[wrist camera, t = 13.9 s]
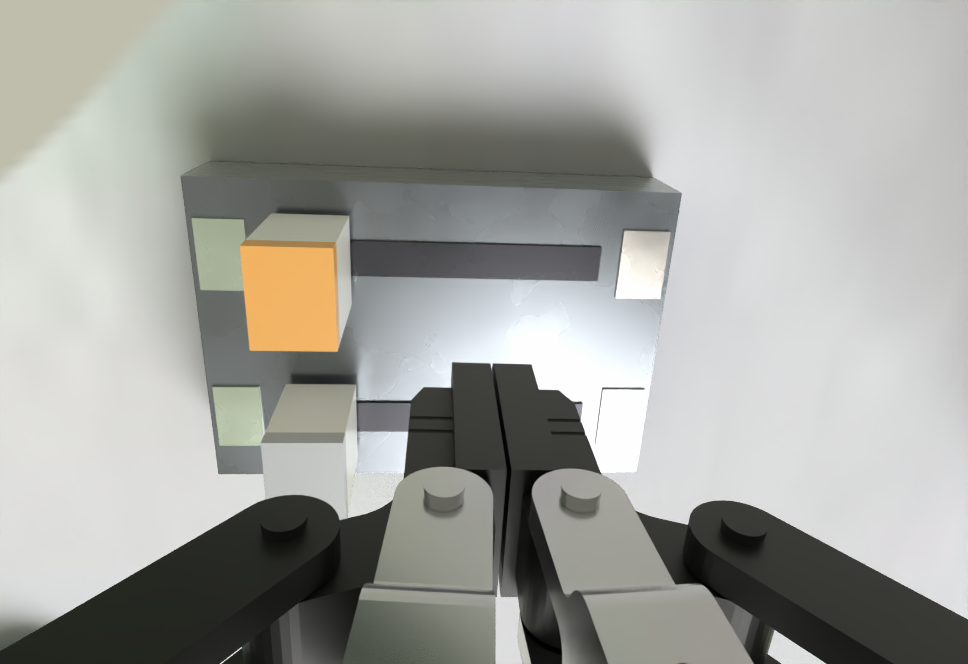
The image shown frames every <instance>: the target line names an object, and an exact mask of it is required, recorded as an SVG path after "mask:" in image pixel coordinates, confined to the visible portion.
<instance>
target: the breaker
mask: <svg viewBox="0 0 968 664" xmlns="http://www.w3.org/2000/svg"><path fill="white" fill-rule="evenodd" d="M261 454H262V464H263V475H264V485H265V496H266V499H269V498H273V497H277V496H283V495H305V496H311V497H315V498H318V499H321V500H323V501H325V502H327V503H328V504H329V505H331V506H332V507H333V508H334V509H335V510H336V512H337V514H338V516H339V520H342V519H347V517H348V511H349V505H350V499H351V494H352V488H353V482H354V476H355V471H356V465H357V459H358V444H357V410H356V385H350V384H286V385H285V387H284V390H283V392H282V394H281V397H280V399H279V401H278V404H277V406H276V408H275V411H274V413H273V415H272V418H271V420H270V422H269V425H268V427H267V429H266V432H265V434H264V436H263V439H262V441H261Z"/></svg>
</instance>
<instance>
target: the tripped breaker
mask: <svg viewBox="0 0 968 664" xmlns="http://www.w3.org/2000/svg"><path fill="white" fill-rule="evenodd" d="M240 255H241V266H242V276H243V286H244V297H245V307H246V317H247V328H248V338H249V348H250V351H319V352H338V348H339V345H340V342H341V338H342V335H343V332H344V329H345V325H346V322H347V319H348V315H349V312H350V309H351V305H352V295H351V262H350V229H349V216H344V215H311V214H277V213H271V214H270V215H269V216H268V217H267V218H266V219H265V220H264V221H263V222H262V223H261V224H260V225H259V226H258V227H257V229H256V230H255V231H254V232H253V233H252V234H251V235H250V236H249V237H248V238H247V239H246V240H245V241H244V242H243V243H242V244H241V245H240Z"/></svg>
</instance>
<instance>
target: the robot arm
mask: <svg viewBox="0 0 968 664" xmlns="http://www.w3.org/2000/svg"><path fill="white" fill-rule="evenodd" d="M498 575H499V584H500V593H501V597H518V600H519V607H520V616H519V626H518V636H517V639H518V646H519V650H520V655H521V659H522V664H781V663H780V662H778V661H777V660H775V659H774V658H772V657H771V656H769V655H768V654H767V653H768V650H769V647H770V643H771V640H772V636H773V633H774V630H776V631H777V632H779V633H781V634H782V635H784V636H785V637H787V638H788V639H790V640H791V641H793V642H794V643H796V644H797V645H799V646H800V647H802V648H803V649H805V650H806V651H808V652H810V653H811V654H813V655H814V656H816V657H817V658H819V659H820V660H822V661H823V662H825V663H826V664H968V619H966V618H964V617H962V616H960V615H958V614H956V613H955V612H953V611H951V610H949V609H947V608H945V607H943V606H941V605H940V604H938V603H936V602H934V601H932V600H930V599H928V598H926V597H925V596H923V595H921V594H919V593H917V592H915V591H913V590H911V589H910V588H908V587H906V586H904V585H902V584H900V583H898V582H896V581H895V580H893V579H891V578H889V577H887V576H885V575H883V574H881V573H880V572H878V571H876V570H874V569H872V568H870V567H868V566H866V565H865V564H863V563H861V562H859V561H857V560H855V559H853V558H851V557H850V556H848V555H846V554H844V553H842V552H840V551H838V550H836V549H835V548H833V547H831V546H829V545H827V544H825V543H823V542H821V541H820V540H818V539H816V538H814V537H812V536H810V535H808V534H806V533H804V532H803V531H801V530H799V529H797V528H795V527H793V526H791V525H789V524H788V523H786V522H784V521H782V520H780V519H778V518H776V517H774V516H773V515H771V514H769V513H767V512H765V511H763V510H761V509H759V508H756V507H753V506H750V505H747V504H743V503H739V502H734V501H711V502H707V503H703V504H701V505H699V506H697V507H696V508H695V509H694V510H693V511H692V513H691V515H690V519H689V523H688V525H686V524H681V523H677V522H672V521H668V520H663V519H659V518H655V517H651V516H648V515H645V514H642V513H639V512H637V511H635V509H634V507H633V505H632V504H631V502H630V500H629V498H628V496H627V494H626V493H625V491H624V490H623V489H622V488H621V487H620V486H619V485H618V484H617V483H615V482H614V481H613V480H611V479H609V478H608V477H606V476H603V475H602V474H601V472H600V469H599V466H598V464H597V461H596V459H595V456H594V453H593V451H592V448H591V445H590V443H589V440H588V437H587V435H585V430H584V427H583V424H582V422H581V419H580V416H579V414H578V411H577V408H576V406H575V404H574V403H573V402H572V401H571V400H570V399H569V398H567V397H566V396H565V395H564V394H563V393H562V392H560V391H559V390H539V389H538V385H537V382H536V378H535V375H534V371H533V368H532V365H531V364H502V363H493V365H492V370H491V364H490V363H459V362H452V371H451V388H444V387H423V388H422V389H421V390H420V391H419V392H418V393H417V395H416V396H415V397H414V398H413V399H412V400H411V405H410V417H409V427H408V438H407V448H406V459H405V470H404V479H403V480H402V481H401V482H400V483H399V485H398V486H397V488H396V490H395V493H394V498H393V500H392V501H391V502H390V503H388V504H387V505H385V506H384V507H382V508H380V509H378V510H376V511H373V512H370V513H368V514H364V515H360V516H356V517H351V518H347V519H342V520H339V516H338V514H337V512H336V510H335V509H334V508H333V507H332V506H331V505H329V504H328V503H327V502H325V501H323V500H321V499H318V498H315V497H311V496H305V495H283V496H277V497H273V498H269V499H266V500H263V501H260V502H258V503H256V504H254V505H252V506H250V507H248V508H247V509H245V510H243V511H241V512H240V513H238V514H236V515H234V516H233V517H231V518H229V519H228V520H226V521H224V522H222V523H221V524H219V525H217V526H215V527H214V528H212V529H210V530H209V531H207V532H205V533H203V534H202V535H200V536H198V537H197V538H195V539H193V540H191V541H190V542H188V543H186V544H184V545H183V546H181V547H179V548H178V549H176V550H174V551H172V552H171V553H169V554H167V555H166V556H164V557H162V558H160V559H159V560H157V561H155V562H153V563H152V564H150V565H148V566H147V567H145V568H143V569H141V570H140V571H138V572H136V573H135V574H133V575H131V576H129V577H128V578H126V579H124V580H122V581H121V582H119V583H117V584H116V585H114V586H112V587H110V588H109V589H107V590H105V591H104V592H102V593H100V594H98V595H97V596H95V597H93V598H91V599H90V600H88V601H86V602H85V603H83V604H81V605H79V606H78V607H76V608H74V609H73V610H71V611H69V612H67V613H66V614H64V615H62V616H60V617H59V618H57V619H55V620H54V621H52V622H50V623H48V624H47V625H45V626H43V627H41V628H40V629H38V630H36V631H35V632H33V633H31V634H29V635H28V636H26V637H24V638H23V639H21V640H19V641H17V642H16V643H14V644H12V645H10V646H9V647H7V648H5V649H4V650H2V651H0V664H220V663H221V662H222V661H224V660H225V659H226V658H227V657H229V656H230V655H231V654H233V653H234V652H235V651H237V650H238V649H239V648H241V647H242V649H240V650H239V651H238V652H236V653H235V654H234V655H233V656H231V657H230V658H229V659H227V660H226V661H225V662H223V663H222V664H495V597H497V585H498Z"/></svg>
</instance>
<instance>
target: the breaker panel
mask: <svg viewBox="0 0 968 664" xmlns="http://www.w3.org/2000/svg"><path fill="white" fill-rule="evenodd" d="M181 182H182V190H183V198H184V205H185V213H186V221H187V229H188V237H189V245H190V253H191V261H192V269H193V277H194V284H195V292H196V300H197V308H198V316H199V324H200V332H201V340H202V348H203V356H204V363H205V371H206V379H207V387H208V395H209V403H210V411H211V419H212V427H213V435H214V442H215V450H216V458H217V466H218V474H263V464H262V454H261V441H262V439H263V436H264V434H265V432H266V429H267V427H268V425H269V422H270V420H271V418H272V415H273V413H274V411H275V408H276V406H277V404H278V401H279V399H280V397H281V394H282V392H283V390H284V387H285V385H286V384H350V385H356V410H357V444H358V459H357V465H356V471H355V473H404V470H405V459H406V448H407V438H408V427H409V417H410V405H411V400H412V399H413V398H414V397H415V396H416V395H417V393H418V392H419V391H420V390H421V389H422V388H423V387H444V388H451V371H452V362H459V363H490V364H491V370H492V365H493V363H502V364H531V365H532V368H533V371H534V375H535V378H536V382H537V385H538V389H539V390H559V391H560V392H562V393H563V394H564V395H565V396H566V397H567V398H569V399H570V400H571V401H572V402H573V403H574V404H575V406H576V408H577V411H578V414H579V416H580V419H581V422H582V424H583V427H584V430H585V435H587V437H588V440H589V443H590V445H591V448H592V451H593V453H594V456H595V459H596V461H597V464H598V466H599V469H600V472H636V470H637V464H638V458H639V452H640V446H641V440H642V434H643V428H644V421H645V415H646V409H647V403H648V397H649V391H650V385H651V379H652V373H653V366H654V360H655V354H656V348H657V342H658V336H659V330H660V324H661V317H662V311H663V305H664V299H665V293H666V287H667V281H668V275H669V269H670V262H671V256H672V250H673V244H674V238H675V232H676V226H677V220H678V213H679V207H680V201H681V195H682V193H681V192H679V191H677V190H675V189H673V188H672V187H670V186H668V185H666V184H664V183H663V182H661V181H659V180H657V179H655V178H653V177H627V176H600V175H573V174H546V173H519V172H492V171H464V170H437V169H410V168H383V167H356V166H329V165H302V164H275V163H247V162H220V161H209V162H207V163H205V164H203V165H201V166H199V167H197V168H195V169H193V170H191V171H189V172H187V173H185V174H183V175H181ZM271 213H277V214H311V215H344V216H349V229H350V262H351V295H352V305H351V309H350V312H349V315H348V319H347V322H346V325H345V329H344V332H343V335H342V338H341V342H340V345H339V348H338V352H319V351H250V348H249V338H248V328H247V317H246V307H245V297H244V286H243V276H242V266H241V255H240V245H241V244H242V243H243V242H244V241H245V240H246V239H247V238H248V237H249V236H250V235H251V234H252V233H253V232H254V231H255V230H256V229H257V227H258V226H259V225H260V224H261V223H262V222H263V221H264V220H265V219H266V218H267V217H268V216H269V215H270V214H271Z"/></svg>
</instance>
